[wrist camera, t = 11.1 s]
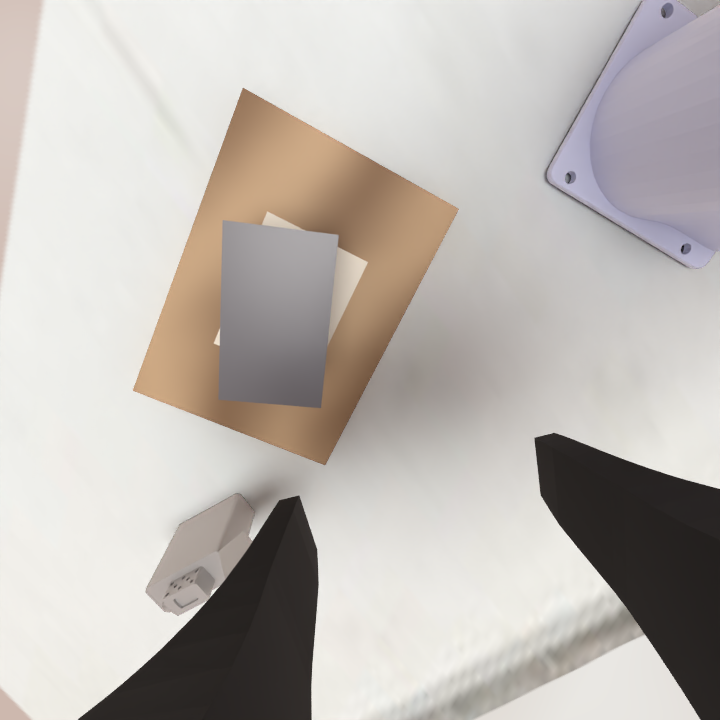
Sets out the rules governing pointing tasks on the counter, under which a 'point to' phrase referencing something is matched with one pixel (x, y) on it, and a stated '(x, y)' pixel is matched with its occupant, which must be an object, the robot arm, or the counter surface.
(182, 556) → the lighter
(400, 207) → the board
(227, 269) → the block
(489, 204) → the counter surface
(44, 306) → the counter surface
